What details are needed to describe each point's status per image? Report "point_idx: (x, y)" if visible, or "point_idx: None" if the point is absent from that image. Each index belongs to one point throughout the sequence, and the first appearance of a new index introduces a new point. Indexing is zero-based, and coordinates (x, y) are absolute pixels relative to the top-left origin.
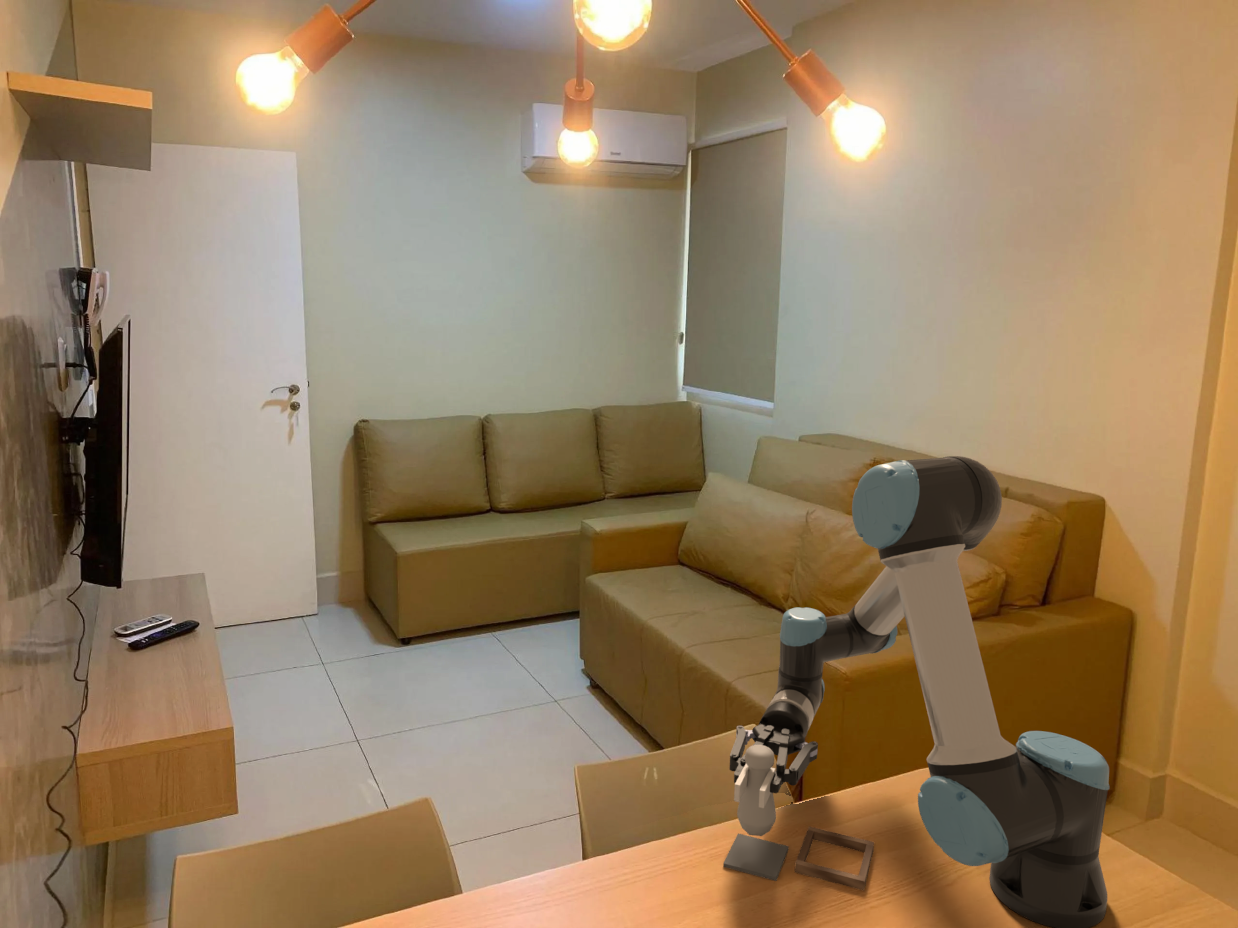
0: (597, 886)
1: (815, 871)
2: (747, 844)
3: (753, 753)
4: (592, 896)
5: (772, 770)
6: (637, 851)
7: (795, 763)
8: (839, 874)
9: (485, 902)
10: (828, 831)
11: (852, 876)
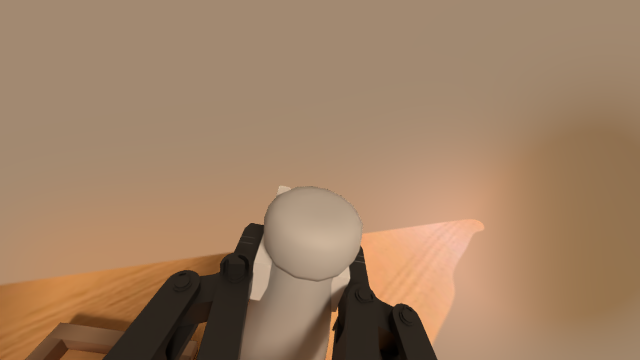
0: (421, 260)
1: None
2: None
3: (332, 193)
4: (415, 249)
5: (264, 252)
6: (434, 329)
7: (157, 324)
8: (109, 331)
9: (468, 232)
10: None
11: (80, 332)
